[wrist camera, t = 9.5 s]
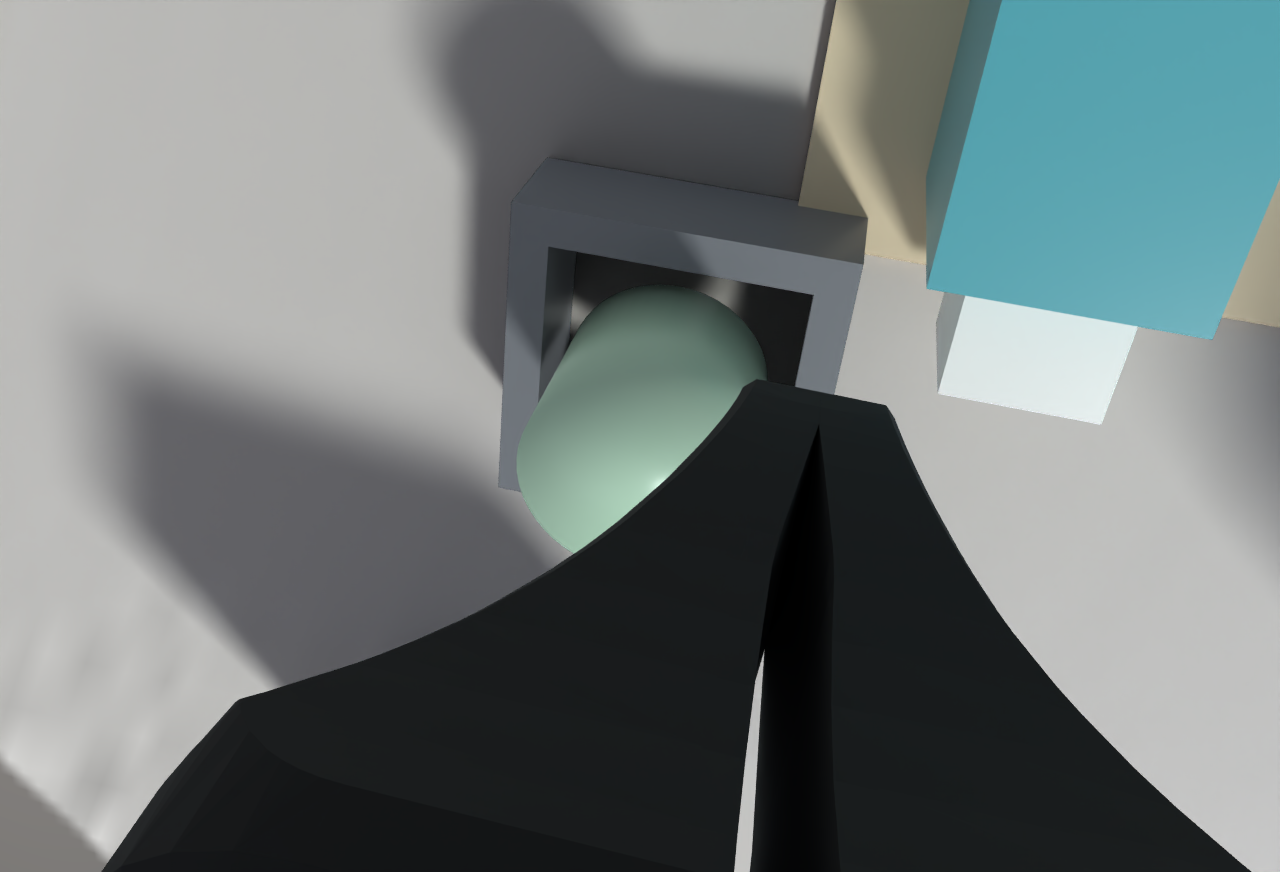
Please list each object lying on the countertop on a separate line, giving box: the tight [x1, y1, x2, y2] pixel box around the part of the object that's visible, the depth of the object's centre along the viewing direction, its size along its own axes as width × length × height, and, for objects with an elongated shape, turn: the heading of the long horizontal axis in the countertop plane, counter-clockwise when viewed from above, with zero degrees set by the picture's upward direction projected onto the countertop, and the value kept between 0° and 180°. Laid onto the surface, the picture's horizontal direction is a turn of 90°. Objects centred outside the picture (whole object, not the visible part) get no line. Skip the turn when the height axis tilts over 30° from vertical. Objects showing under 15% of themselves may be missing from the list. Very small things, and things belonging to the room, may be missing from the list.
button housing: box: [498, 158, 868, 492], centre depth 19 cm, size 5×5×2 cm
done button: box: [516, 285, 768, 553], centre depth 18 cm, size 3×3×3 cm
